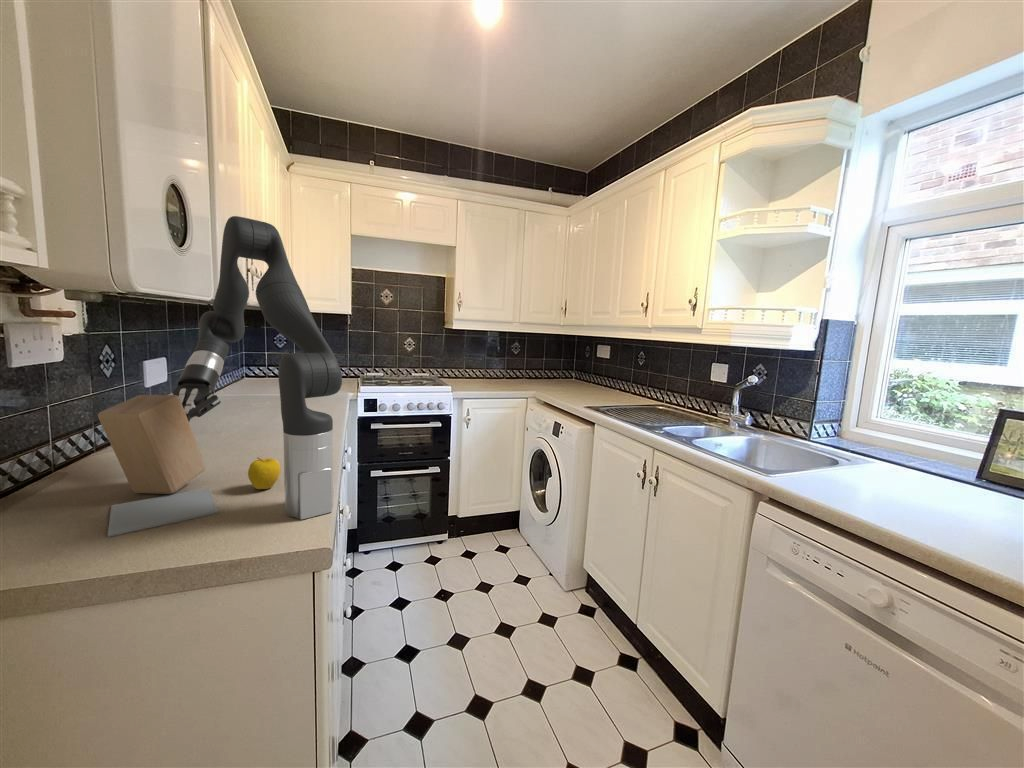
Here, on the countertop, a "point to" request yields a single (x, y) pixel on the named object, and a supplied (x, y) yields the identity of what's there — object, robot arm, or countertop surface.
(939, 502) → the countertop surface
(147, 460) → the block
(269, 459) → the apple
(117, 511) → the mat
